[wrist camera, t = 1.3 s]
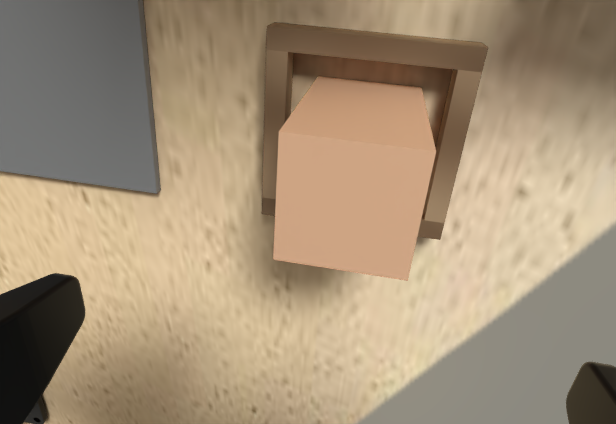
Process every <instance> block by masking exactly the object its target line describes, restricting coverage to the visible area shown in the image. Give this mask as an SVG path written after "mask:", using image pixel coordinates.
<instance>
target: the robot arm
mask: <svg viewBox="0 0 616 424" xmlns="http://www.w3.org/2000/svg"><path fill="white" fill-rule="evenodd" d="M84 318H85V306H84V301H83V297H82V292H81V287H80V283H79V281H78V279H77V278H76V277H74V276H71V275H65V274H59V273H54V274H50V275H48V276H45V277H43V278H40V279H38V280H35V281H33V282H30V283H28V284H26V285H23V286H21V287H18V288H16V289H13V290H11V291H8V292H6V293H3V294H1V295H0V424H23V422H28V423H32V424H44V422H45V421H46V420H47V419H48V416H47V412H46V409H45V406H44V403H43V399H42V394H43V393H44V391H45V389H46V388H47V386H48V384H49V382H50V381H51V379H52V377H53V375H54V374H55V372H56V370H57V368H58V366H59V365H60V363H61V361H62V359H63V357H64V356H65V354H66V352H67V350H68V349H69V347H70V345H71V343H72V341H73V340H74V338H75V336H76V334H77V332H78V331H79V329H80V327H81V325H82V323H83V321H84ZM566 409H567V414H568V420H569V424H616V367H614V366H612V365H608V364H602V363H596V362H586V363H584V364H583V365H582V367H581V368H580V370H579V372H578V374H577V376H576V378H575V380H574V382H573V384H572V386H571V388H570V390H569V392H568V395H567V400H566Z"/></svg>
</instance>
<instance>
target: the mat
mask: <svg viewBox="0 0 616 424" xmlns="http://www.w3.org/2000/svg"><path fill="white" fill-rule="evenodd" d="M0 171H4V172H11V173H17V174H24V175H31V176H38V177H45V178H52V179H59V180H66V181H73V182H80V183H87V184H94V185H101V186H108V187H115V188H121V189H128V190H135V191H142V192H149V193H156V194H157V193H158V192H159V191H160V190H161V188H160V178H159V167H158V156H157V145H156V135H155V124H154V113H153V103H152V92H151V81H150V70H149V60H148V49H147V38H146V28H145V17H144V6H143V0H0Z"/></svg>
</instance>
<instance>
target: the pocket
mask: <svg viewBox="0 0 616 424" xmlns="http://www.w3.org/2000/svg"><path fill="white" fill-rule="evenodd" d="M487 50H488V47H486V46H485V45H484V44H483V43H479V42H469V41H459V40H449V39H438V38H428V37H418V36H408V35H398V34H387V33H377V32H367V31H357V30H346V29H336V28H326V27H316V26H306V25H295V24H285V23H275V22H274V23H272V24H270V25H268V26H267V38H266V76H265V113H264V151H263V189H262V214H266V215H273V216H275V207H276V183H277V160H278V137H279V131H280V129H281V128H282V126H283V125H284V124H285V122H286V121H287V119H288V118H289V116H290V115H291V97H292V78H293V60H294V53H303V54H312V55H322V56H331V57H341V58H350V59H360V60H370V61H379V62H389V63H398V64H408V65H417V66H427V67H436V68H446V69H453V71H452V76H451V80H450V85H449V89H448V94H447V99H446V103H445V108H444V112H443V117H442V121H441V126H440V130H439V135H438V140H437V144H436V155H435V159H434V164H433V168H432V173H431V177H430V182H429V186H428V191H427V195H426V200H425V205H424V209H423V214H422V218H421V223H420V227H419V232H418V237H425V238H431V239H438V240H440V238H441V234H442V230H443V226H444V222H445V218H446V214H447V210H448V206H449V202H450V198H451V194H452V190H453V186H454V182H455V178H456V174H457V170H458V166H459V162H460V158H461V154H462V150H463V146H464V142H465V138H466V134H467V130H468V126H469V122H470V118H471V114H472V110H473V106H474V102H475V98H476V94H477V90H478V86H479V82H480V78H481V74H482V70H483V66H484V62H485V58H486V54H487Z"/></svg>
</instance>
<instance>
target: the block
mask: <svg viewBox="0 0 616 424" xmlns="http://www.w3.org/2000/svg"><path fill="white" fill-rule="evenodd" d="M435 155H436V148H435V144H434V140H433V135H432V131H431V127H430V122H429V118H428V114H427V109H426V105H425V101H424V96H423V92H422V88H421V87H412V86H403V85H394V84H385V83H376V82H367V81H358V80H349V79H340V78H331V77H322V76H318V77H317V78H316V80H315V81H314V83H313V84H312V85H311V87H310V88H309V90H308V91H307V92H306V94H305V95H304V97H303V98H302V100H301V101H300V102H299V104H298V105H297V107H296V108H295V109H294V111H293V112H292V114H291V115H290V116H289V118H288V119H287V121H286V122H285V124H284V125H283V126H282V128H281V129H280V131H279V137H278V160H277V183H276V207H275V230H274V253H273V260H279V261H285V262H292V263H298V264H304V265H311V266H317V267H324V268H330V269H336V270H343V271H349V272H355V273H362V274H368V275H375V276H381V277H387V278H394V279H400V280H406V281H408V277H409V272H410V268H411V263H412V259H413V254H414V250H415V245H416V241H417V236H418V232H419V227H420V223H421V218H422V214H423V209H424V205H425V200H426V195H427V191H428V186H429V182H430V177H431V173H432V168H433V164H434V159H435Z"/></svg>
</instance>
